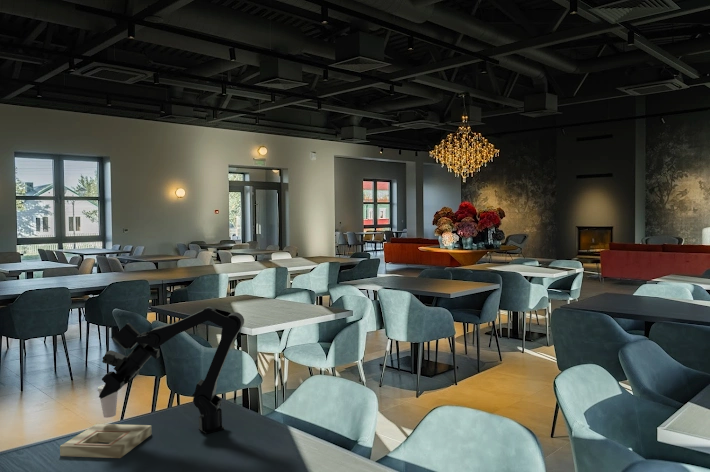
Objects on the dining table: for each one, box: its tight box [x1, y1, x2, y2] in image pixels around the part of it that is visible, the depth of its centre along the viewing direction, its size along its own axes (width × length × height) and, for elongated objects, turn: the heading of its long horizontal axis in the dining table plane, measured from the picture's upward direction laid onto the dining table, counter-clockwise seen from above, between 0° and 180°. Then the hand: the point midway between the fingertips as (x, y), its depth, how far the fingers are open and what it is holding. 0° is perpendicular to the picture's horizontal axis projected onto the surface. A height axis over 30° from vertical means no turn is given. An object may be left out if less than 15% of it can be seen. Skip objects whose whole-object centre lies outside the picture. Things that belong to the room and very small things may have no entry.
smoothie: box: [97, 383, 119, 418], centre depth 191 cm, size 6×6×14 cm
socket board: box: [59, 423, 153, 459], centre depth 181 cm, size 19×19×3 cm
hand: (104, 394), depth 191 cm, fingers closed on smoothie, 6 cm apart
